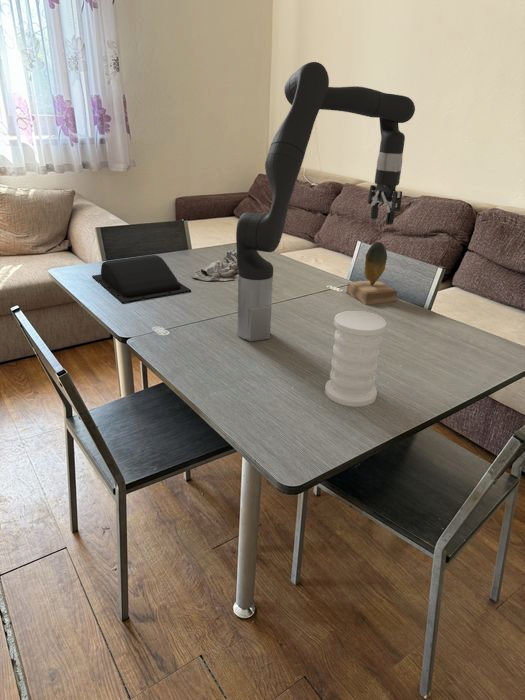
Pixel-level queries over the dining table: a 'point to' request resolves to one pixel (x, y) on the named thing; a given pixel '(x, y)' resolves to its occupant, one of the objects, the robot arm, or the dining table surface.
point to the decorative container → (355, 358)
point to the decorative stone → (375, 262)
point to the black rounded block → (139, 279)
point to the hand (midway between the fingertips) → (381, 221)
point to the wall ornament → (220, 269)
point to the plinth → (371, 292)
